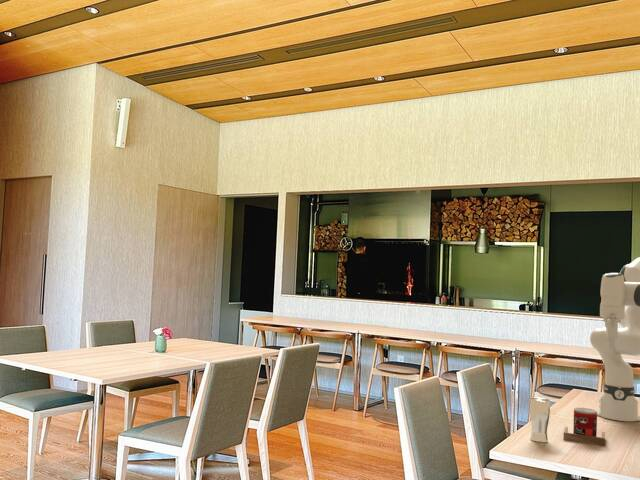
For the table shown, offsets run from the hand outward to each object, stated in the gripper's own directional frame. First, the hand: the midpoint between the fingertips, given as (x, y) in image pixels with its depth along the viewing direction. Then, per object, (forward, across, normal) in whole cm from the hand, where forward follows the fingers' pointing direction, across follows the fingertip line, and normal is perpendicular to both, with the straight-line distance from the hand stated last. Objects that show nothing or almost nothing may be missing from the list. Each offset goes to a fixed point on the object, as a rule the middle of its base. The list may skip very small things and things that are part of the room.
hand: (611, 348), depth 237 cm
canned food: (+33, -16, +9) cm, 38 cm away
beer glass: (+33, -28, +24) cm, 50 cm away
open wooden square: (+33, -16, +9) cm, 38 cm away
